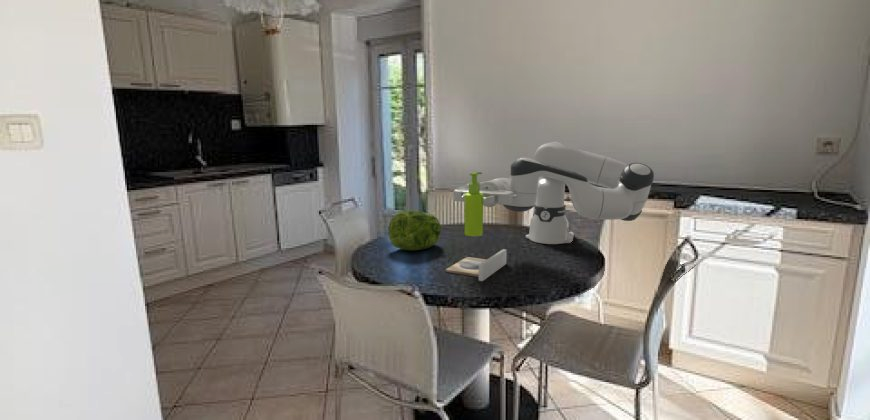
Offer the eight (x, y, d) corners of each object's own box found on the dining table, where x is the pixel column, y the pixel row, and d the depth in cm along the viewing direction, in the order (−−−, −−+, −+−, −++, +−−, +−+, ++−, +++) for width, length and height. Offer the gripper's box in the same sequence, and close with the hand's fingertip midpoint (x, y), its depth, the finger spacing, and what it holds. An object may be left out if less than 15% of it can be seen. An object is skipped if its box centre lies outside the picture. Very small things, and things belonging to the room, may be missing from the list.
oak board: (467, 259, 166) (467, 256, 165) (499, 263, 160) (499, 261, 160) (445, 271, 152) (445, 269, 152) (479, 277, 146) (479, 274, 146)
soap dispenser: (486, 232, 155) (488, 171, 151) (478, 237, 149) (479, 174, 145) (470, 230, 158) (471, 170, 154) (461, 235, 152) (461, 173, 148)
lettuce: (450, 255, 180) (453, 215, 183) (413, 248, 164) (417, 205, 167) (418, 254, 190) (422, 216, 193) (381, 248, 175) (385, 207, 177)
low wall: (502, 263, 160) (503, 249, 159) (506, 263, 160) (506, 249, 159) (478, 280, 143) (478, 264, 142) (482, 281, 142) (482, 265, 142)
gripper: (519, 205, 158) (504, 212, 146) (463, 200, 168) (445, 207, 156) (519, 186, 157) (504, 192, 145) (463, 183, 167) (445, 188, 155)
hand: (473, 199), depth 150 cm, fingers closed on soap dispenser, 6 cm apart
